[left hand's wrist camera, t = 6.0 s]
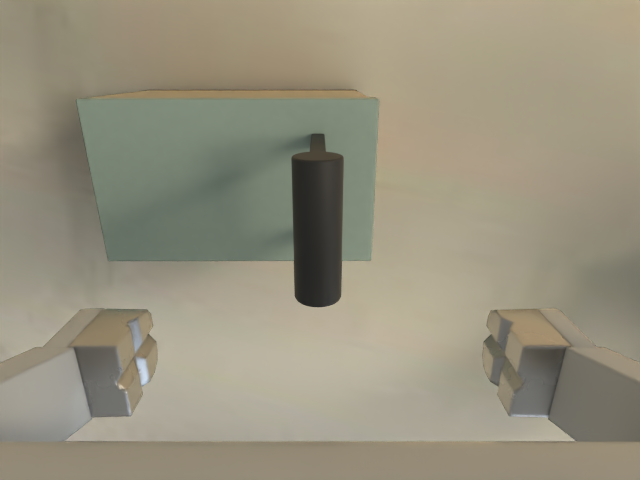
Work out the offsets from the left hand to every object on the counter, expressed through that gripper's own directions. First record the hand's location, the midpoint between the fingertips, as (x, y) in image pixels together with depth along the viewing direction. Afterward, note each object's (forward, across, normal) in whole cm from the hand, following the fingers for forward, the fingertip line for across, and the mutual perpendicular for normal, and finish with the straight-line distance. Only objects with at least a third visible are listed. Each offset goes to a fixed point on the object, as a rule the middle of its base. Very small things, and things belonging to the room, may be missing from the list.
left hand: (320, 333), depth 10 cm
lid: (+16, -5, 0) cm, 16 cm away
